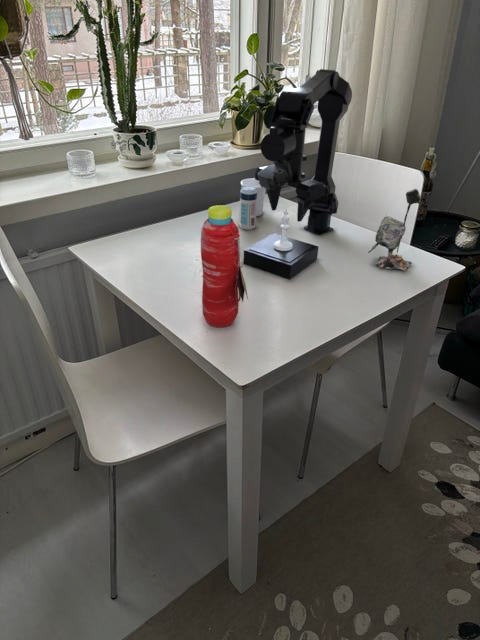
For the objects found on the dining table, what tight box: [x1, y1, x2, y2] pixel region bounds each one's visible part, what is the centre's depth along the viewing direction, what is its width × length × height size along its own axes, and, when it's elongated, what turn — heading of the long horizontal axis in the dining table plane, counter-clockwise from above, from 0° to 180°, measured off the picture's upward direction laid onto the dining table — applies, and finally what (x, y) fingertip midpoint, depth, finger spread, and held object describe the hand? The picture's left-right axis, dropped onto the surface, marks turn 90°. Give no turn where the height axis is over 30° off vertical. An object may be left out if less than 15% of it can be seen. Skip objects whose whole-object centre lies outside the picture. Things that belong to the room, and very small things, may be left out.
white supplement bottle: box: [239, 186, 257, 231], centre depth 143 cm, size 5×5×12 cm
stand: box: [242, 232, 319, 281], centre depth 126 cm, size 14×14×4 cm
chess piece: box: [274, 208, 293, 251], centre depth 123 cm, size 5×5×10 cm
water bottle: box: [200, 204, 249, 328], centre depth 96 cm, size 12×8×25 cm, turn 51°
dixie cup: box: [240, 177, 267, 217], centre depth 154 cm, size 8×8×10 cm
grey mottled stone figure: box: [367, 188, 422, 272], centre depth 122 cm, size 8×11×20 cm
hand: (286, 215), depth 121 cm, fingers open, 9 cm apart
